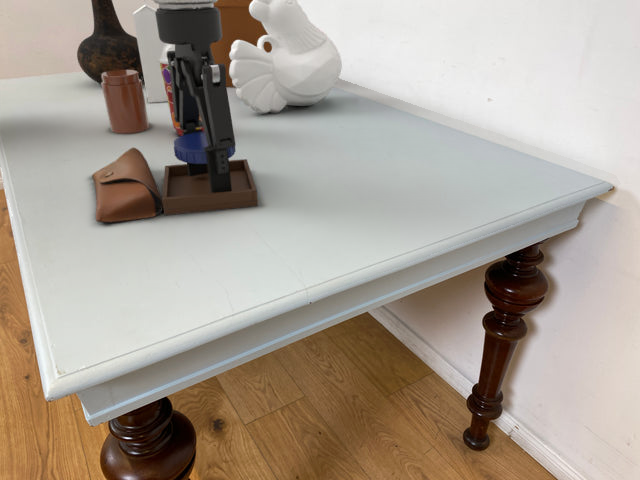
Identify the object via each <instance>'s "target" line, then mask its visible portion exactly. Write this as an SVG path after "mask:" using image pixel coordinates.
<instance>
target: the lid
mask: <svg viewBox="0 0 640 480" xmlns="http://www.w3.org/2000/svg"><path fill="white" fill-rule="evenodd" d="M205 147H208V143H207V139H206V135H205V132H195V133H190V134H186V135H183V136H180V135H179V136H178V137H177V138H175V139H174V141H173V152H174V157H176V159H177V160H179V161H180V162H183V163H186V164H187V163H194V164H207V157H206V152H204V150H203V148H205ZM235 153H236V146H235V147H230V148H228V157H229V159H231V158H232V157H233V156H234V155H235Z"/></svg>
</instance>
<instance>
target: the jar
mask: <svg viewBox="0 0 640 480" xmlns="http://www.w3.org/2000/svg"><path fill="white" fill-rule="evenodd" d="M101 75H102V77H101V78H102V80H103V82H101V84H100V86H101V90H102V94H103V100H104V103H105V109H106V113H107V118H108V122H109V126H110V131H111V132H112V133H114V134H123V135H124V134H125V135H128V134H137V133H142V132H145V131H147V130H148V129H150V122H149V117H148V110H147V104H146V99H145V93H144V88H143V82H142V79H139V78H138V72H137V71H135V70H113V71H107V72H104V73H102V74H101Z"/></svg>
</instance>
